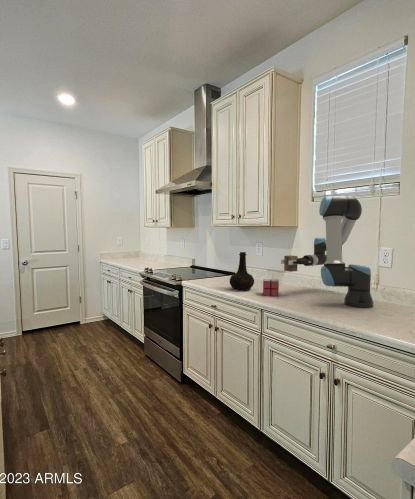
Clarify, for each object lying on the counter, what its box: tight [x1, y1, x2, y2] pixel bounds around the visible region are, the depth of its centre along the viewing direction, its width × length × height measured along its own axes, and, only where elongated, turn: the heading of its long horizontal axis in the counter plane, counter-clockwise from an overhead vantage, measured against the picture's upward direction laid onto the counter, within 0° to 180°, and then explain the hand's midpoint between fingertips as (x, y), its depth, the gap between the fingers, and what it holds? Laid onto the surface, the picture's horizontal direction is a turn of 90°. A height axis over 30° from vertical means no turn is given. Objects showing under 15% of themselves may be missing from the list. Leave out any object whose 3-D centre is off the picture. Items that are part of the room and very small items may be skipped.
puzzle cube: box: [262, 278, 279, 297], centre depth 203 cm, size 10×10×10 cm
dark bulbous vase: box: [229, 251, 255, 292], centre depth 219 cm, size 18×18×28 cm
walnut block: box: [283, 255, 299, 273], centre depth 198 cm, size 6×6×10 cm
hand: (285, 262), depth 195 cm, fingers closed on walnut block, 6 cm apart
